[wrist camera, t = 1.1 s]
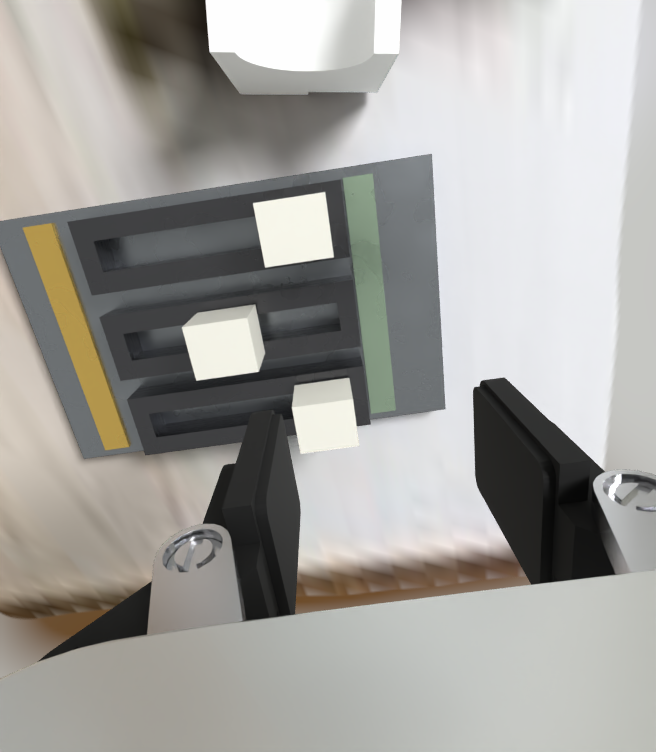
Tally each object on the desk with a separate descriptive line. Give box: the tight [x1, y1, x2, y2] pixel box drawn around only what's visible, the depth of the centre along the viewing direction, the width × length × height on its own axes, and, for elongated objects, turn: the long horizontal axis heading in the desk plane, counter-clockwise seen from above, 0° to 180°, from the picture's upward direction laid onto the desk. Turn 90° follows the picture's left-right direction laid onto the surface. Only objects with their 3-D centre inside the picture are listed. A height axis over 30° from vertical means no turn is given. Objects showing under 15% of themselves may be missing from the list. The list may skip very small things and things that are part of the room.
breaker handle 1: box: [253, 192, 334, 268], centre depth 23 cm, size 3×3×5 cm
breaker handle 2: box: [292, 378, 359, 454], centre depth 26 cm, size 3×3×5 cm
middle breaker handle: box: [182, 304, 265, 381], centre depth 24 cm, size 3×3×5 cm
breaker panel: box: [0, 154, 445, 459], centre depth 27 cm, size 15×24×3 cm, turn 98°
